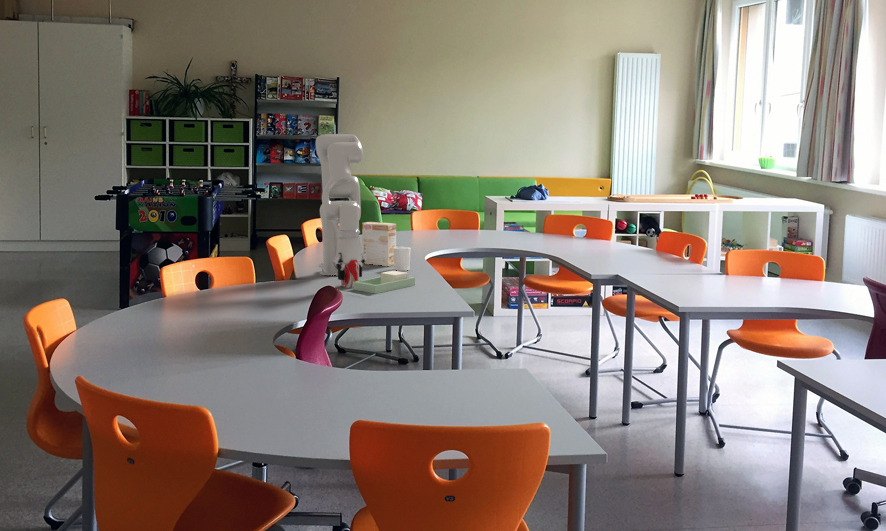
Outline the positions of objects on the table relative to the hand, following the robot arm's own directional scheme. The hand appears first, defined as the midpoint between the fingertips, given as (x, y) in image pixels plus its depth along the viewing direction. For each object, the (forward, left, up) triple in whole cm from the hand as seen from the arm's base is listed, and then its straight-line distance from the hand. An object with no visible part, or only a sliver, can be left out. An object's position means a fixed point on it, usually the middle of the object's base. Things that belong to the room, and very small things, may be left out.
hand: (350, 278), depth 305 cm
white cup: (-14, +45, -4) cm, 47 cm away
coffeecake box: (-32, +49, -4) cm, 59 cm away
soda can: (0, 0, -4) cm, 4 cm away
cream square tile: (+12, +13, -3) cm, 18 cm away
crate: (+12, +7, -4) cm, 15 cm away
